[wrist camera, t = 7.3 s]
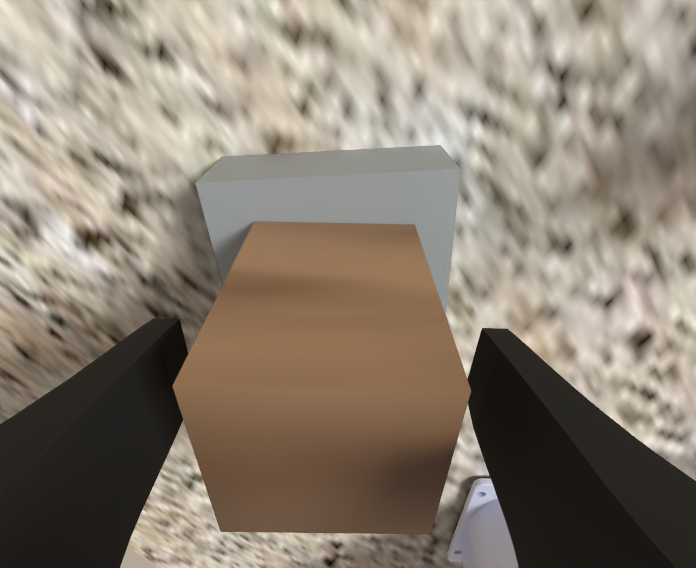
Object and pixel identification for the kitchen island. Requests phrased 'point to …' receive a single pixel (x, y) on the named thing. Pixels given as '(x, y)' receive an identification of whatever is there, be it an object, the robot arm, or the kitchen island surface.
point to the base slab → (335, 196)
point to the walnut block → (325, 383)
